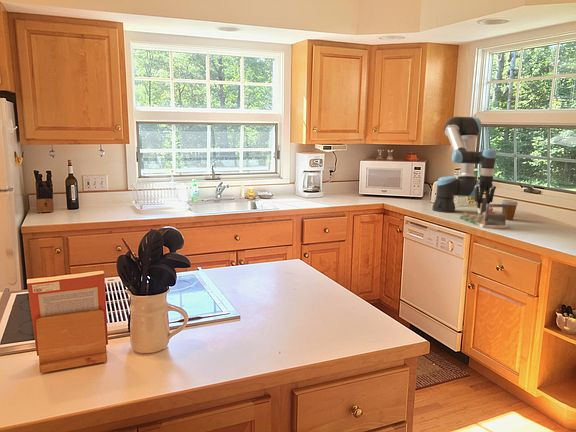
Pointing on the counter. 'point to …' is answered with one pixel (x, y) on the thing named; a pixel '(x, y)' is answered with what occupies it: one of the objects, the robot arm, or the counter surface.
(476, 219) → the pitch
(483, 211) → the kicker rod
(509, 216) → the disposable coffee cup
